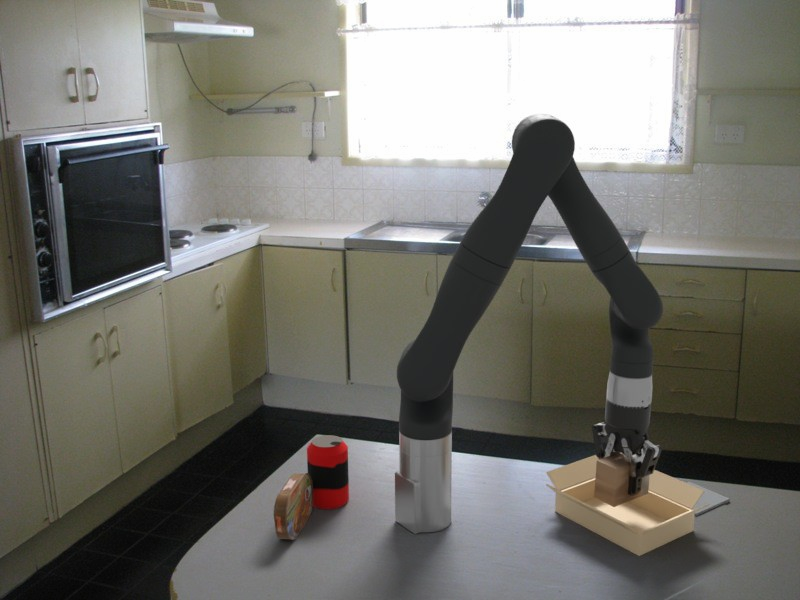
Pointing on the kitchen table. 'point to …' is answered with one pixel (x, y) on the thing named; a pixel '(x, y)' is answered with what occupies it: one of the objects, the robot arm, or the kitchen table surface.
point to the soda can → (328, 471)
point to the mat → (708, 500)
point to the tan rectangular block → (616, 480)
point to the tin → (293, 506)
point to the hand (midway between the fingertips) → (621, 488)
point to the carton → (626, 507)
